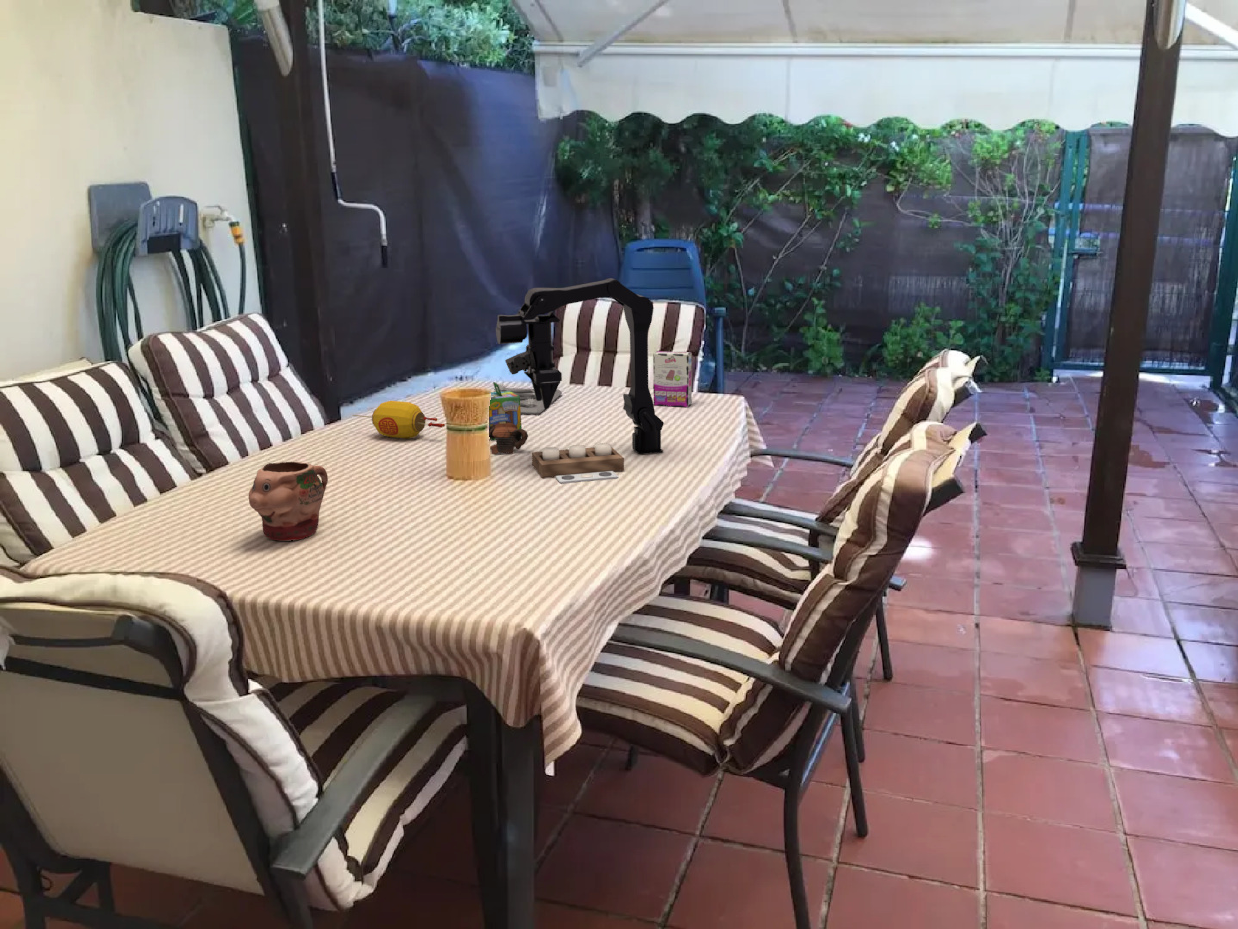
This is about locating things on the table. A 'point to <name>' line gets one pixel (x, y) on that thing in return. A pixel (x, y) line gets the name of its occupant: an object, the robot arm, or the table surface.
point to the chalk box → (504, 408)
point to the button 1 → (550, 453)
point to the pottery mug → (507, 437)
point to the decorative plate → (528, 400)
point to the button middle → (577, 451)
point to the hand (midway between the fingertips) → (542, 404)
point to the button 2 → (602, 449)
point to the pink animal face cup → (288, 499)
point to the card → (586, 477)
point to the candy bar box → (672, 379)
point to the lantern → (400, 419)
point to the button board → (577, 463)
